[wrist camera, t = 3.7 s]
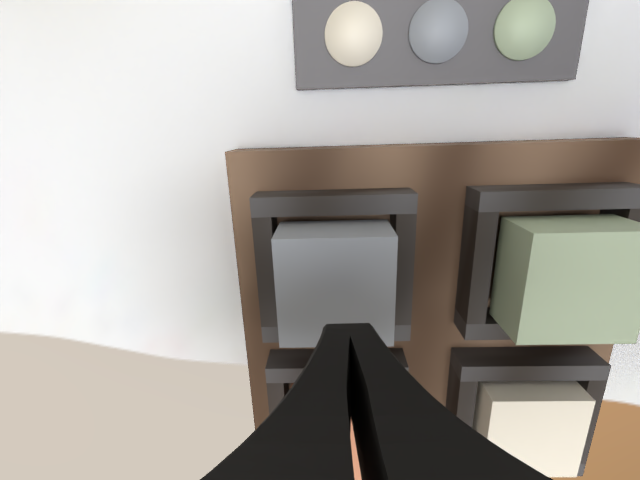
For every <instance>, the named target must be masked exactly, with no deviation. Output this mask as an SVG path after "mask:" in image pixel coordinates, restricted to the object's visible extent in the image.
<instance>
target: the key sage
mask: <svg viewBox="0 0 640 480" xmlns="http://www.w3.org/2000/svg"><path fill="white" fill-rule="evenodd" d="M489 314H490V315H491V316H492V317H493V318H494V320H495V321H496V322H497V323H498V324H499V326H500V327H501V328H502V329H503V330H504V331H505V333H506V334H507V335H508V336H509V337H510V338H511V340H512V341H513V342H514V343H515V344H516V345H565V344H636V341H637V338H638V334H639V330H640V222H637V221H634V220H631V219H627V218H624V217H621V216H618V215H614V214H594V215H551V216H508V217H501V224H500V232H499V240H498V247H497V255H496V263H495V271H494V279H493V287H492V294H491V302H490V310H489Z"/></svg>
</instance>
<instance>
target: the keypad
mask: <svg viewBox="0 0 640 480" xmlns="http://www.w3.org/2000/svg"><path fill="white" fill-rule="evenodd" d="M225 156H226V166H227V175H228V184H229V193H230V202H231V212H232V221H233V230H234V239H235V248H236V258H237V267H238V276H239V285H240V294H241V304H242V313H243V322H244V331H245V340H246V350H247V359H248V368H249V377H250V386H251V396H252V403H253V404H252V405H253V414H254V423H255V430H256V429H257V428H258V427H259V426H260V424H261V423H262V422H263V421H264V420H265V419H266V418H267V417H268V416H269V415H270V414H271V412H272V411H273V410H274V409H275V408H276V406H277V405H278V404H279V403H280V402H281V400H282V399H283V398H284V396H285V395H286V394H287V392H288V391H289V390H290V386H291V383H294V382H295V381H296V379H297V378H298V376H299V375H300V373H301V372H302V370H303V369H304V367H305V366H306V364H307V362H308V360H309V358H310V357H311V355H312V353H313V351H314V349H315V347H303V348H279V336H278V323H277V309H276V296H275V283H274V270H273V257H272V243H271V239H272V237H273V235H274V233H275V231H276V229H277V227H278V225H279V223H280V222H293V221H336V220H379V219H387V220H388V221H389V223H390V225H391V226H392V228H393V229H394V231H395V233H396V234H397V236H398V250H397V277H396V303H395V330H394V346H391V347H388V348H389V350H390V351H391V352H392V353H393V355H394V356H395V357H396V358H397V359H398V360H399V362H400V363H401V364H402V365H403V366H404V367H405V368H406V370H407V371H408V372H409V373H410V374H411V375H412V376H413V377H414V378H415V379H416V380H417V381H418V382H419V383H420V384H421V385H422V386H423V387H424V388H425V389H426V390H427V391H428V392H429V393H430V394H431V395H432V396H433V397H434V398H435V399H436V400H438V401H439V402H440V403H441V404H442V405H443V406H445V407H446V408H447V409H448V410H449V411H451V412H452V413H453V414H454V415H456V416H457V417H458V418H459V419H461V420H462V421H463V422H465V423H466V424H467V425H469V426H470V427H471V428H472V425H473V417H474V409H475V401H476V394H477V386H478V381H577V382H578V383H579V384H580V385H581V386H582V387H583V388H584V389H585V390H586V392H587V393H588V394H589V395H590V396H591V397H592V398H593V399H594V400H595V401H596V402H595V406H594V410H593V414H592V418H591V422H590V426H589V430H588V434H587V438H586V442H585V446H584V450H583V454H582V458H581V462H580V466H579V470H578V474H577V476H583V473H584V469H585V464H586V461H587V457H588V453H589V449H590V445H591V441H592V437H593V434H594V430H595V426H596V422H597V418H598V414H599V410H600V407H601V403H602V399H603V395H604V391H605V387H606V383H607V380H608V376H609V372H610V368H611V365H610V364H609V360H610V356H611V352H612V348H613V344H565V345H516V344H515V343H514V342H513V341H512V340H511V338H510V337H509V336H508V335H507V334H506V333H505V331H504V330H503V329H502V328H501V327H500V326H499V324H498V323H497V322H496V321H495V320H494V318H493V317H492V316H491V315H490V314H489V310H490V302H491V294H492V287H493V279H494V271H495V263H496V255H497V247H498V240H499V232H500V224H501V217H508V216H551V215H594V214H614V215H618V216H621V217H624V218H627V219H631V220H634V221H637V222H640V138H631V137H621V138H588V139H555V140H522V141H489V142H456V143H423V144H390V145H357V146H324V147H291V148H258V149H235V150H231V151H227V152H225Z"/></svg>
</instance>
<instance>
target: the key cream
mask: <svg viewBox="0 0 640 480" xmlns="http://www.w3.org/2000/svg"><path fill="white" fill-rule="evenodd" d="M595 402H596V401H595V400H594V399H593V398H592V397H591V396H590V395H589V394H588V393H587V392H586V390H585V389H584V388H583V387H582V386H581V385H580V384H579V383H578V382H577V381H478V386H477V394H476V401H475V409H474V417H473V425H472V428H473V429H474V430H476V431H477V432H478V433H480V434H481V435H483V436H484V437H485V438H487V439H488V440H490V441H491V442H492V443H494V444H496V445H497V446H499V447H500V448H502V449H503V450H505V451H506V452H508V453H509V454H511V455H512V456H514V457H516V458H517V459H519V460H521V461H522V462H524V463H525V464H527V465H529V466H530V467H532V468H534V469H535V470H537V471H539V472H540V473H542V474H544V475H545V476H547V477H577V474H578V470H579V466H580V462H581V458H582V454H583V450H584V446H585V442H586V438H587V434H588V430H589V426H590V422H591V418H592V414H593V410H594V406H595Z"/></svg>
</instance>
